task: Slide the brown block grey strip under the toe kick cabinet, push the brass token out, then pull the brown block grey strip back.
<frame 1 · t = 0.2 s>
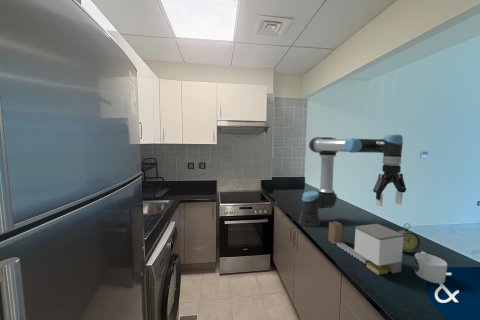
hand: (388, 204, 104), 28 cm above the countertop, fingers open, 13 cm apart
brown block grey strip: (334, 242, 120), on the countertop
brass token: (377, 270, 93), on the countertop
toe kick cabinet: (376, 265, 96), on the countertop
alarm clock: (405, 252, 110), on the countertop
mug: (427, 274, 91), on the countertop
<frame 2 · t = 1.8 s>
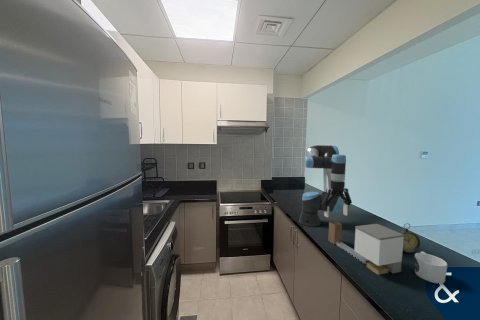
hand: (336, 215, 118), 16 cm above the countertop, fingers open, 13 cm apart
nothing on the countertop moved.
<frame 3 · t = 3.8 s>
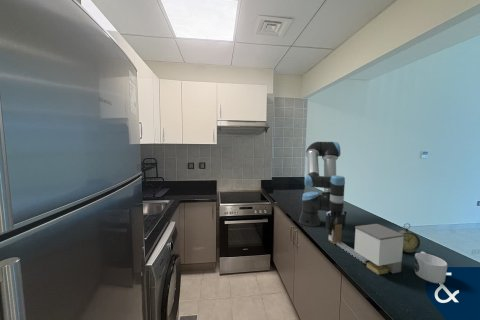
hand: (334, 239, 120), 2 cm above the countertop, fingers closed on brown block grey strip, 5 cm apart
brown block grey strip: (334, 242, 120), on the countertop, touching gripper
everything else where it was.
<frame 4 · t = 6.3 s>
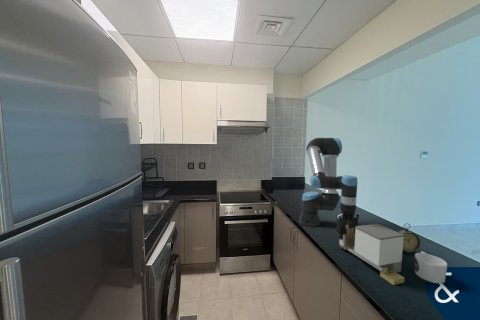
hand: (346, 244, 111), 3 cm above the countertop, fingers closed on brown block grey strip, 5 cm apart
brown block grey strip: (345, 247, 111), point 1 cm above the countertop, touching gripper
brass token: (391, 279, 87), on the countertop
everything else where it was.
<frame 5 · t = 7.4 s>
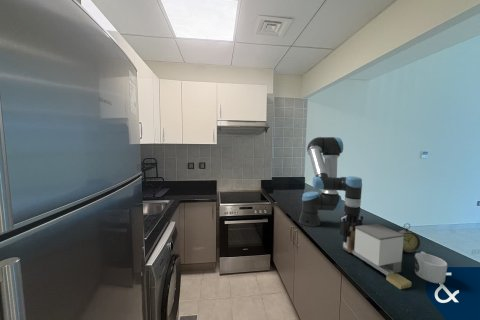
hand: (350, 246, 109), 3 cm above the countertop, fingers closed on brown block grey strip, 5 cm apart
brown block grey strip: (349, 250, 109), point 1 cm above the countertop, touching gripper
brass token: (398, 284, 84), on the countertop
everything else where it was.
when the fingers open (2 cm above the countertop, at t = 9.7 s): brown block grey strip stays where it is, on the countertop.
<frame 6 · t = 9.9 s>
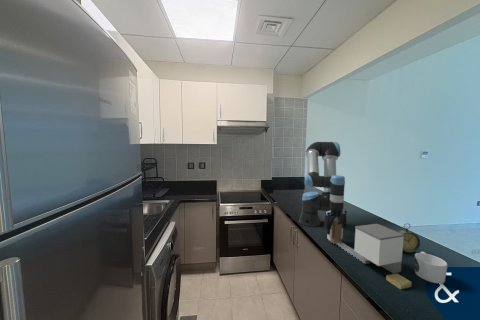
hand: (334, 238, 120), 2 cm above the countertop, fingers open, 7 cm apart
brown block grey strip: (334, 242, 120), on the countertop
everything else where it was.
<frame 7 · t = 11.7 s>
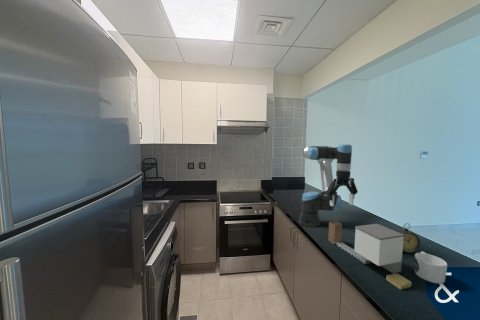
hand: (341, 205, 120), 22 cm above the countertop, fingers open, 13 cm apart
nothing on the countertop moved.
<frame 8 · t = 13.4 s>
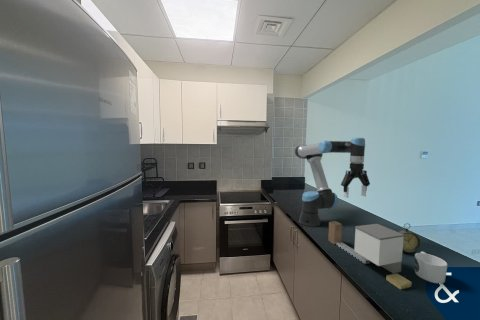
hand: (354, 196, 124), 27 cm above the countertop, fingers open, 13 cm apart
nothing on the countertop moved.
at the end: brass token inside the target area (4.6 cm from its centre), on the countertop; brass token moved 9.5 cm from its start; the gripper is holding nothing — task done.
